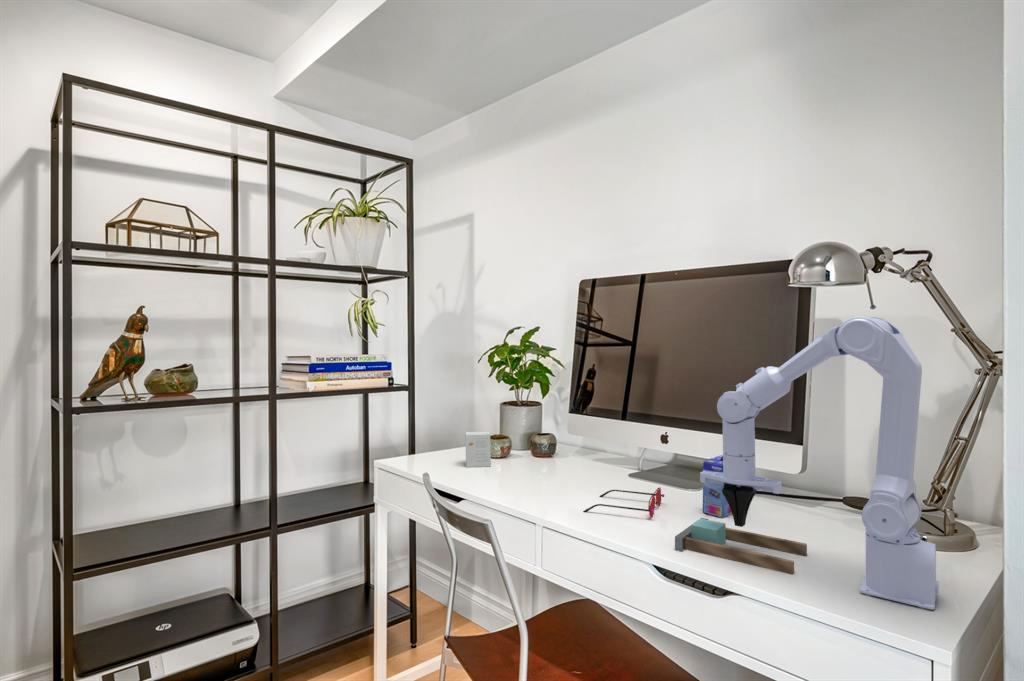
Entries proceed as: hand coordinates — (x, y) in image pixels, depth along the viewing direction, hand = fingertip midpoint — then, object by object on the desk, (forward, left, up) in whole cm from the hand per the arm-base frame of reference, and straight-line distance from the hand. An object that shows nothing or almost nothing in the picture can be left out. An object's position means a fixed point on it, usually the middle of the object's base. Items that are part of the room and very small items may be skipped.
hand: (740, 524), depth 107 cm
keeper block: (+6, 0, -5) cm, 8 cm away
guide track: (-1, 0, -5) cm, 5 cm away
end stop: (+9, 0, -5) cm, 11 cm away
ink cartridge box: (+11, -22, -5) cm, 25 cm away
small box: (+89, -23, -5) cm, 92 cm away
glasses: (+30, -11, -6) cm, 33 cm away
